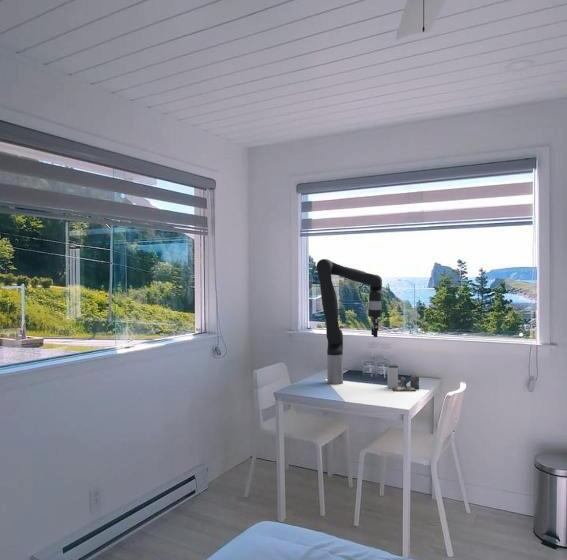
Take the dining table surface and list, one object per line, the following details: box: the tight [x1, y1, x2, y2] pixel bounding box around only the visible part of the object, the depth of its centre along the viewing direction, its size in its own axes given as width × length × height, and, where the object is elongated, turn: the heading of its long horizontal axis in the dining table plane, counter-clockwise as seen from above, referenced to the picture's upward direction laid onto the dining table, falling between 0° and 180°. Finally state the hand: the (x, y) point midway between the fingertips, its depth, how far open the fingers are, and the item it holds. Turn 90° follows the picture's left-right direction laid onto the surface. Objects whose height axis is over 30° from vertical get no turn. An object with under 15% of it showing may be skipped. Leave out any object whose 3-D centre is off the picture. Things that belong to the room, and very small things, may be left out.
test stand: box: [392, 373, 420, 392], centre depth 276 cm, size 15×13×7 cm
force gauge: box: [387, 363, 401, 389], centre depth 279 cm, size 7×5×13 cm
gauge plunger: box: [400, 376, 408, 389], centre depth 277 cm, size 1×12×4 cm, turn 178°
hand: (374, 336), depth 286 cm, fingers open, 8 cm apart
